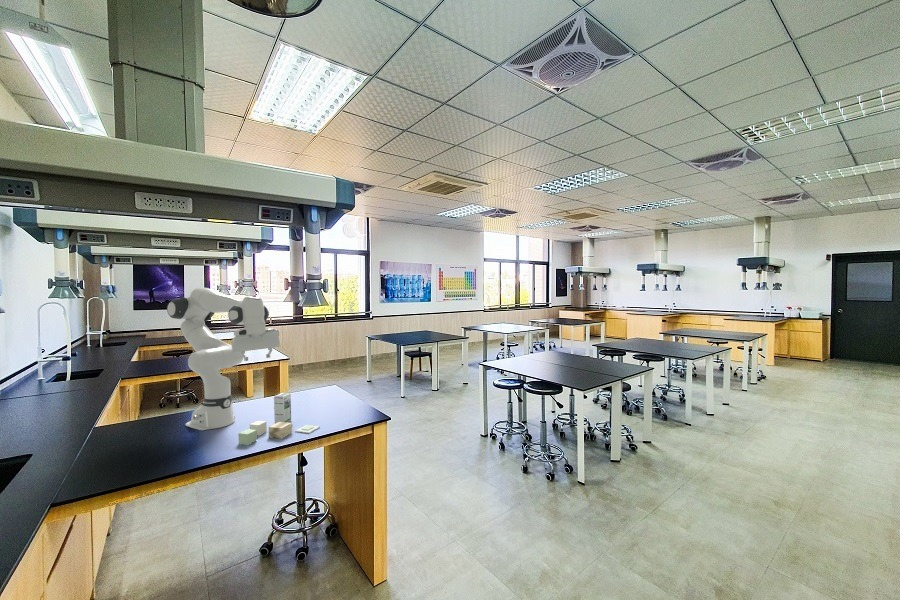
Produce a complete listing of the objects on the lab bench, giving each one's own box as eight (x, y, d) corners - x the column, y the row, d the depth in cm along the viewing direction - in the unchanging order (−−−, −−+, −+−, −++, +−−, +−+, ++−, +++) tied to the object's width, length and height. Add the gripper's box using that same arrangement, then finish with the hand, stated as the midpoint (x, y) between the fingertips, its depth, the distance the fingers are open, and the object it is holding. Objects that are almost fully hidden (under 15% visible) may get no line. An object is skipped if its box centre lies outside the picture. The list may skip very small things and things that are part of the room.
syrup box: (284, 424, 182) (283, 396, 182) (274, 423, 183) (273, 395, 183) (291, 420, 188) (291, 393, 187) (281, 420, 189) (281, 392, 189)
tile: (295, 431, 173) (295, 430, 173) (306, 425, 180) (306, 424, 180) (309, 433, 170) (309, 431, 170) (319, 427, 178) (319, 425, 178)
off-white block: (249, 434, 170) (249, 424, 170) (258, 430, 174) (258, 420, 174) (258, 435, 168) (258, 425, 168) (266, 431, 173) (266, 421, 173)
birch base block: (268, 437, 167) (268, 426, 166) (279, 431, 173) (279, 421, 173) (281, 439, 165) (281, 428, 165) (292, 433, 171) (291, 422, 171)
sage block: (238, 444, 159) (238, 433, 159) (247, 439, 164) (247, 428, 164) (247, 445, 158) (247, 434, 157) (256, 441, 162) (256, 430, 162)
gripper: (277, 328, 180) (279, 355, 180) (229, 332, 167) (232, 362, 167) (280, 328, 175) (282, 356, 175) (232, 332, 162) (234, 363, 162)
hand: (257, 359), depth 171 cm, fingers open, 8 cm apart
